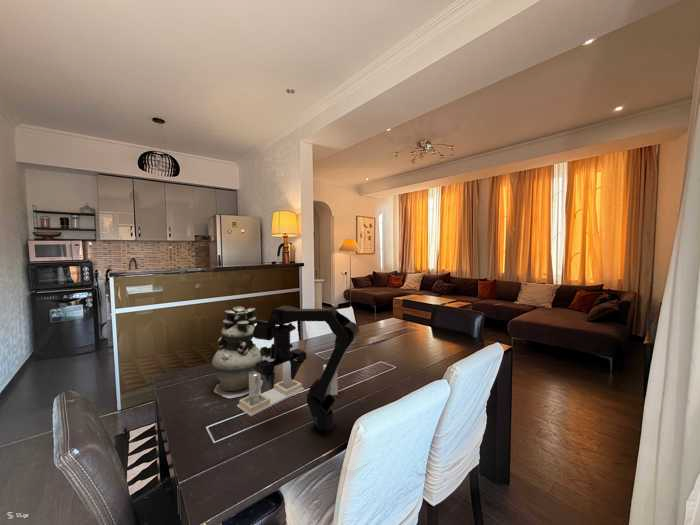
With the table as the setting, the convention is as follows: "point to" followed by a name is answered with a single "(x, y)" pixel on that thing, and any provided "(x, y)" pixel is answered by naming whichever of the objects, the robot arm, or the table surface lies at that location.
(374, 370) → the table surface
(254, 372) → the clear drinking glass
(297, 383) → the white oblong stand
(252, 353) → the decorative urn
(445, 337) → the table surface
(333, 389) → the skincare box
